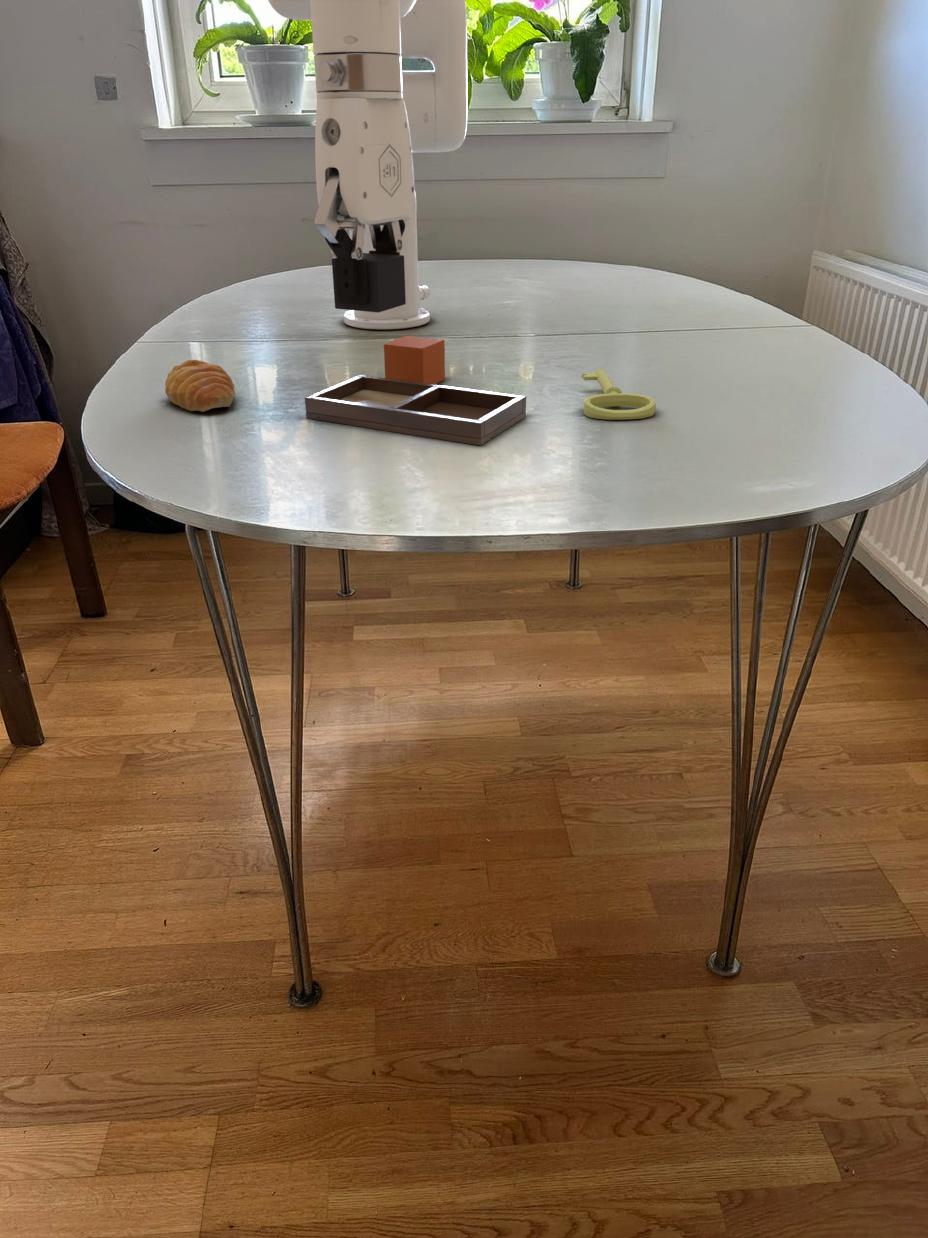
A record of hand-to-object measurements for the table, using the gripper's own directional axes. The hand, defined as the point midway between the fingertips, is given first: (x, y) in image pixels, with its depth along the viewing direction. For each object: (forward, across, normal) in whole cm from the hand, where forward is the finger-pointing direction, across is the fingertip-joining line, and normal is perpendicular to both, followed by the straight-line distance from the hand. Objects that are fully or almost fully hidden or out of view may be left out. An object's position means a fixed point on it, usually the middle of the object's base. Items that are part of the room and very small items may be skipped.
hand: (370, 296), depth 88 cm
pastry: (+11, -5, +18) cm, 22 cm away
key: (+11, +13, -21) cm, 27 cm away
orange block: (+11, +12, +2) cm, 17 cm away
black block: (+1, 0, 0) cm, 1 cm away
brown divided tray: (+11, 0, -5) cm, 12 cm away
